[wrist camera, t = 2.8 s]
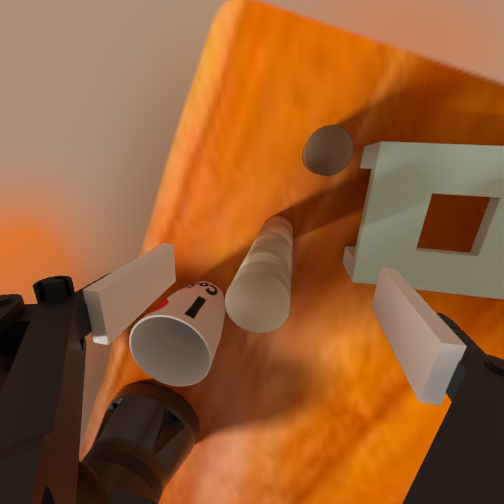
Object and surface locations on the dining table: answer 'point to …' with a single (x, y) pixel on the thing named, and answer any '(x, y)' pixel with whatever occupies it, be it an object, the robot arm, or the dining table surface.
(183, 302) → the cup
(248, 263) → the long pin
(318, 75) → the dining table surface
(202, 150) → the dining table surface
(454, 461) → the robot arm
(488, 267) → the bridge
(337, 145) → the short pin
